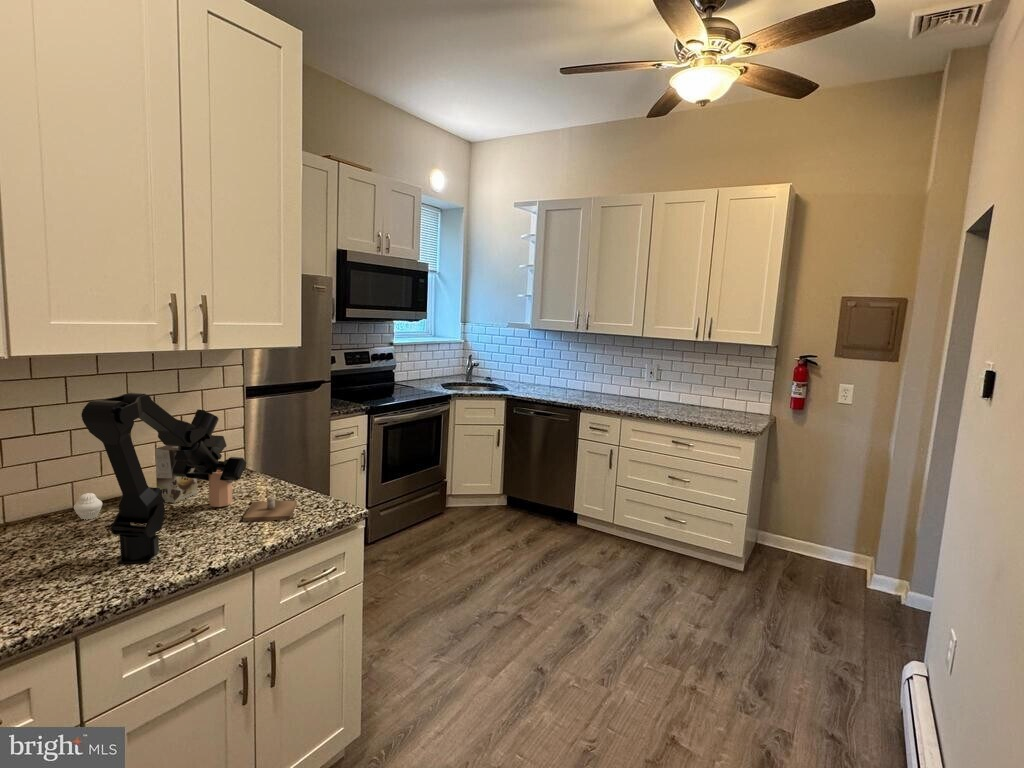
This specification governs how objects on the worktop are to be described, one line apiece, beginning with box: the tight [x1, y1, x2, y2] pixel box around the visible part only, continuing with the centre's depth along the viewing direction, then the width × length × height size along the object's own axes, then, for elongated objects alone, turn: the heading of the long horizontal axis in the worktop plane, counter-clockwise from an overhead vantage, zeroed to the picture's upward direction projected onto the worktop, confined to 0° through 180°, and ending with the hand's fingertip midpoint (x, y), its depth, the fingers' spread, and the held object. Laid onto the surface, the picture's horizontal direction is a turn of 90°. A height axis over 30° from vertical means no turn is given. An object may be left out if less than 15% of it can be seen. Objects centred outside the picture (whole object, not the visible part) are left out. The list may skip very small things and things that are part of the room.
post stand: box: [242, 496, 298, 523], centre depth 158 cm, size 12×12×5 cm
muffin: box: [73, 492, 103, 521], centre depth 149 cm, size 6×6×7 cm
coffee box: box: [154, 445, 198, 504], centre depth 165 cm, size 9×6×16 cm
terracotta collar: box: [208, 470, 233, 508], centre depth 161 cm, size 6×6×10 cm
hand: (222, 480), depth 161 cm, fingers closed on terracotta collar, 6 cm apart
